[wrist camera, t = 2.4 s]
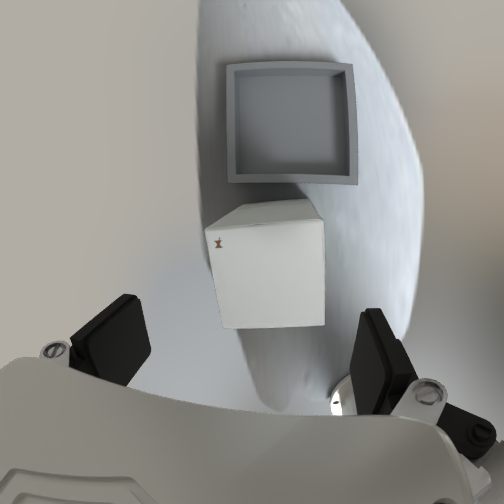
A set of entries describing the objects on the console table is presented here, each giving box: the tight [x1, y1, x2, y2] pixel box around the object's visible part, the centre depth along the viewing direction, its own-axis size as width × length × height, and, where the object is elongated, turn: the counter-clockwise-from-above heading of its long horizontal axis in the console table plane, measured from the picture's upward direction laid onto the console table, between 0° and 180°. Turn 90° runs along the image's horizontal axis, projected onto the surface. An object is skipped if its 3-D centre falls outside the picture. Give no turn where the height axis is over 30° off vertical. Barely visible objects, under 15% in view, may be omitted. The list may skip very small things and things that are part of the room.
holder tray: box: [226, 61, 358, 185], centre depth 24 cm, size 12×12×3 cm
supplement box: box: [204, 199, 325, 329], centre depth 23 cm, size 7×7×13 cm
